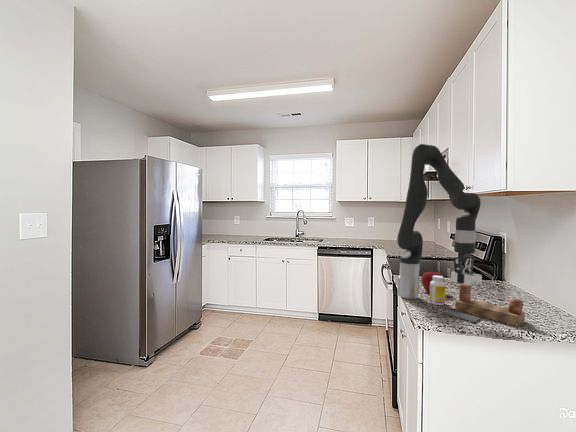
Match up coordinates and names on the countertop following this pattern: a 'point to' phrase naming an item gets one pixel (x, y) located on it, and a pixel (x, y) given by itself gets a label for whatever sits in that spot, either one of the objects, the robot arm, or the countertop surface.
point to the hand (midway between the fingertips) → (463, 281)
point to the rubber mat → (461, 316)
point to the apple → (428, 279)
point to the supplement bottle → (437, 290)
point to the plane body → (490, 308)
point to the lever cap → (468, 278)
